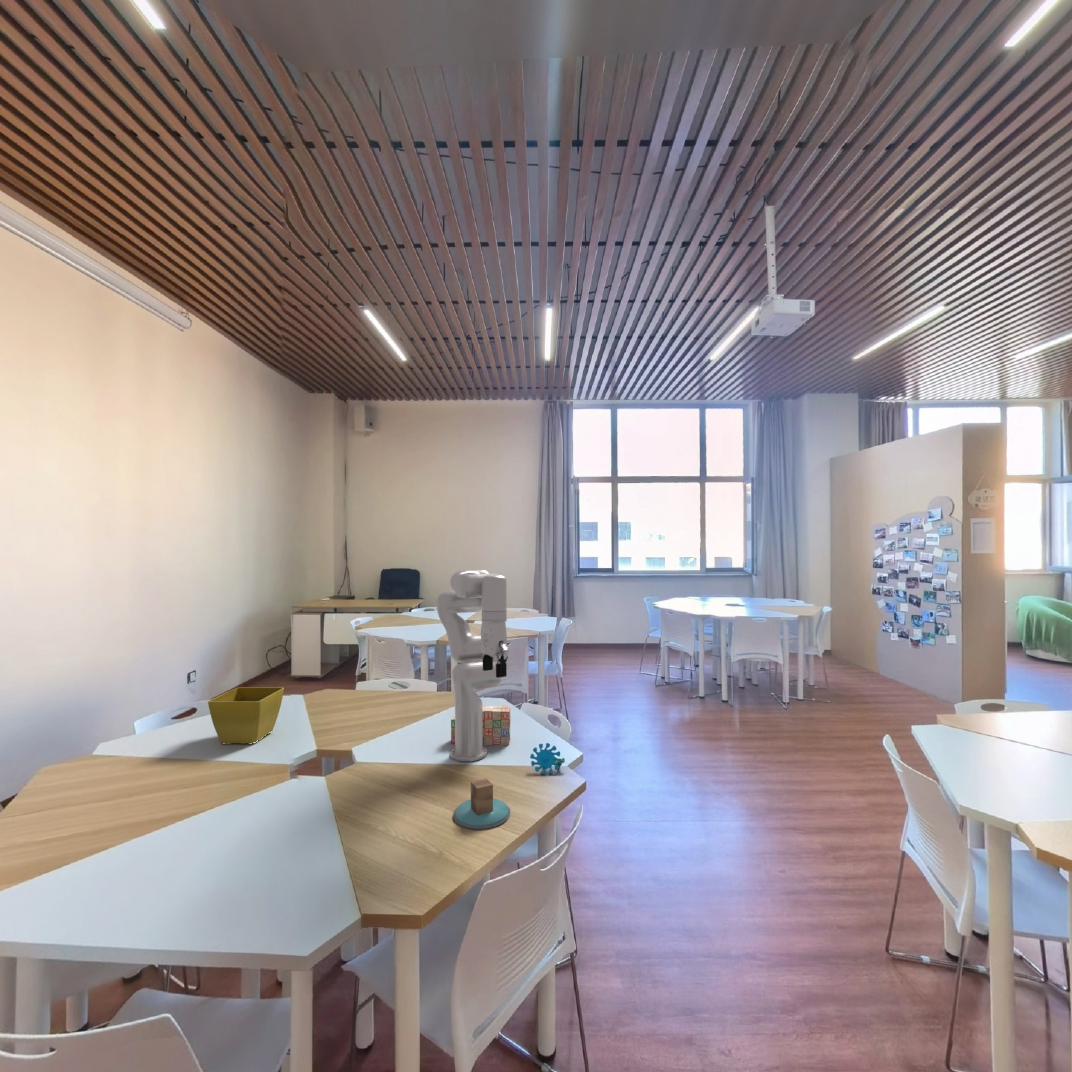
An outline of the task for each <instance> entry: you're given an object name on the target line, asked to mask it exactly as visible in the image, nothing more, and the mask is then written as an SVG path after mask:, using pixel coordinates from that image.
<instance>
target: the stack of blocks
mask: <svg viewBox="0 0 1072 1072" xmlns="http://www.w3.org/2000/svg"><path fill="white" fill-rule="evenodd" d="M510 740H511V706H503V705H499V706H498V705H491V706H489V705H488V706H487V705H486V706H484V705H483V746H484V745H485V746H486V745H487V746H489V745H490V746H510V744H511V743H510V742H511V741H510ZM450 745H455V713H454V714H453V715H452V717H451V719H450Z"/></svg>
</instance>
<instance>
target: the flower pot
mask: <svg viewBox="0 0 1072 1072" xmlns="http://www.w3.org/2000/svg"><path fill="white" fill-rule="evenodd" d="M284 689H285V688H284V687H278V686H277V687H270V686H269V687H266V686H264V687H263V686H262V687H261V686H260V687H259V686H257V687H256V686H253V687H252V686H249V687H247V686H246V687H245V686H244V687H243V686H241V687H239V686H238V687H236V688H234V689H231V690H229V691H227V692H224V693H222V694H220V695H218V696H216V697H214V698H212V699H210V700H207V703H208V709H209V714H210V717H211V718H210V719H211V721H212V724H213V727H214V729H215V732H216V735H217V737H218V739H219V741H220V743H221V744H222V743H253V742H256V741H257V740H259V739H261V738H262V737H264V736H265V735H267V734H268V733H269V732H271V731H272V732H273V731H274V728H275V726H276V724H277V719H278V717H279V713H280V709H281V707H282V702H283V697H284V692H285V691H284ZM267 736H268V735H267ZM264 738H265V737H264ZM261 740H262V739H261Z"/></svg>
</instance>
